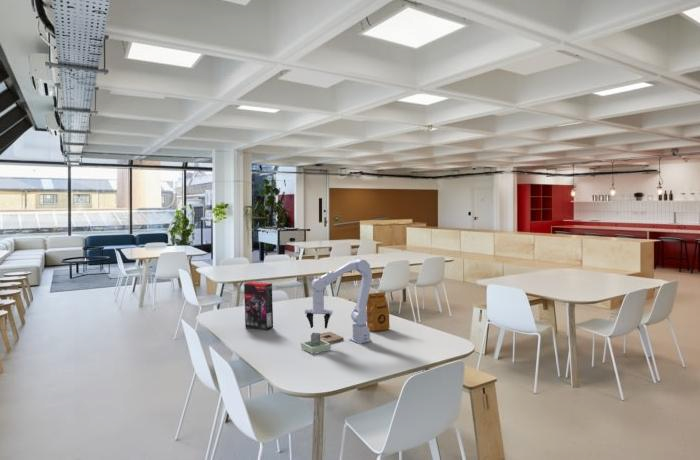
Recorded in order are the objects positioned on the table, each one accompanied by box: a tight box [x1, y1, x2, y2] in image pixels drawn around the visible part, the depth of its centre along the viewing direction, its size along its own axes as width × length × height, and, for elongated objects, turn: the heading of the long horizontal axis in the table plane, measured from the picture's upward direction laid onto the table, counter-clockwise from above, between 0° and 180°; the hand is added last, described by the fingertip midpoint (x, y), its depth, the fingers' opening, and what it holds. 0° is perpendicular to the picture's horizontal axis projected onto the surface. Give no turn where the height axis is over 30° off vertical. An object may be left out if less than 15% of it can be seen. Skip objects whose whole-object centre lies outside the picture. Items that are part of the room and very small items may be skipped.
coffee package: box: [366, 291, 391, 332], centre depth 251 cm, size 10×12×22 cm
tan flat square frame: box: [320, 331, 344, 344], centre depth 235 cm, size 14×12×2 cm
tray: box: [300, 339, 332, 355], centre depth 219 cm, size 11×11×3 cm
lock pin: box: [310, 332, 321, 347], centre depth 219 cm, size 4×4×7 cm
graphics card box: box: [243, 281, 274, 331], centre depth 258 cm, size 17×7×27 cm, turn 62°
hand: (318, 327), depth 226 cm, fingers open, 7 cm apart
